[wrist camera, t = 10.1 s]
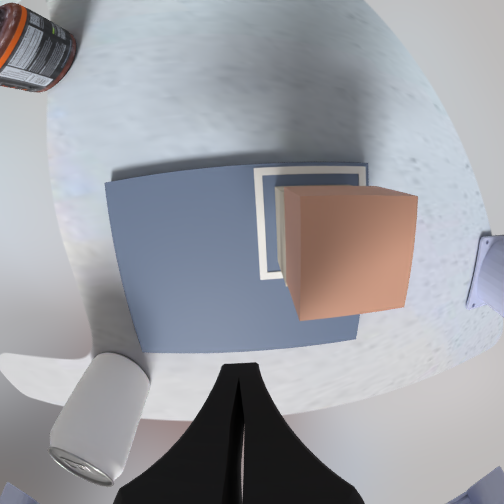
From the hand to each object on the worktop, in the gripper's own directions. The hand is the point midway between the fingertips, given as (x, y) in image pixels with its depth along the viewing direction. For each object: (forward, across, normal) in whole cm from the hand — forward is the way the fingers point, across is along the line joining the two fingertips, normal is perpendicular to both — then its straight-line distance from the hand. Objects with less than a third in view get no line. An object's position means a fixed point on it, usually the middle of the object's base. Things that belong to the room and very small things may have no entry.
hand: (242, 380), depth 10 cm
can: (+11, +13, +10) cm, 20 cm away
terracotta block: (+5, -5, -4) cm, 9 cm away
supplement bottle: (+11, +15, -20) cm, 27 cm away
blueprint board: (+10, 0, -1) cm, 10 cm away
